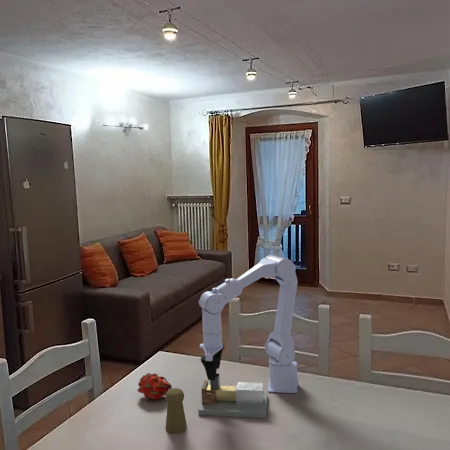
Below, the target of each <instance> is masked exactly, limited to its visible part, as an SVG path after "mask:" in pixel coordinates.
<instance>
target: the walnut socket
mask: <svg viewBox="0 0 450 450" xmlns="http://www.w3.org/2000/svg"><path fill="white" fill-rule="evenodd" d="M207 385H209V380H208V379H206V380H204V381H203V384H202V386H201V401H202V404H203V405H215V403H216V400H215V393H209V392H206V387H207Z"/></svg>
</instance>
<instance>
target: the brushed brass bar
mask: <svg viewBox="0 0 450 450" xmlns="http://www.w3.org/2000/svg"><path fill="white" fill-rule="evenodd" d="M220 380H221V379H220V373H217V372H216V378H215V380H209V384H208V385H207V387H206V392H209V393H215V400H223V401H236V387H237V385H224V384H223V385H221V384H220V383H221V382H220Z"/></svg>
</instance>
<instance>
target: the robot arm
mask: <svg viewBox="0 0 450 450" xmlns="http://www.w3.org/2000/svg"><path fill="white" fill-rule="evenodd" d="M296 269H297V266H296V265H295V264H294V262H293V261H292V260H290V259H289V258H284V257H281V256H277V255H275V254H269V255H267V256H266V257H264V258H262V259H260V260H259V262H257V264H255V265H254V266H253V267H252V268H250V269H248V270H247V271H246V272H244V273H242V275H240V276H239V277H238V278H232V277H230V278H226V279H224V282H223V283H221V284H219V285H218V286H216V287H213V288H211V290H210V291H208V290H207V291H205V292H202V294H201V295H200V298H199V300H198V304H199V307H200V308H201V311H202V312H201V313H202V314H201V315H202V318H201V319H202V335H203V336H202V339H203V340H202V341H203V343H200V345H199V348H200V349H203V352H204V355H205V356H203V355H202V356H201V357H200V363H201V364H202V366H203V367H204V371H205V374H206V377H207V380H208V381H210V380H215V378H216V373H217V370H219V369H220V365H221V360H222V353H223V350H224V348H225V344H224V343H223V335H222V334H223V333H222V331H223V330H222V311H223V309H224V307H225V305H227V304H228V303H229V302H230V301H232V300H234V299H235V298H236V297H237V298H238V296H240V295H241V294H242V293H243V289H244V288H245V287H247V286H249V285H251V284H253V283H254V282H257V281H258V280H260V279H261V278H264V277H267V278H274V279H275V281H276V282H277V283H279V290H278V291H279V292H278V299H277V306H276V307H277V308H276V312H275V320H274V328H273V330H272V332H271V333H270V334H268V339H267V340H266V343H265V344H264V345H265V346H264V350H265V353H266V355H268V369H269V371H268V372H269V373H268V374H269V375H268V376H269V379H268V384H267V393H268V392H269V393H283V394H284V393H285V394H297V393H298V385H299V378H298V362H297V361H296V360H295V358H296V351H295V341H294V339H293V337H292V336H291V335H292V334H291V332H292V327H293V326H292V325H293V324H292V323H293V317H294V310H295V303H296V297H297V289H298V284H299V283H298V281H299V280H298V278H297V277H298V276H297V274H296ZM294 360H295V361H294Z"/></svg>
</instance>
